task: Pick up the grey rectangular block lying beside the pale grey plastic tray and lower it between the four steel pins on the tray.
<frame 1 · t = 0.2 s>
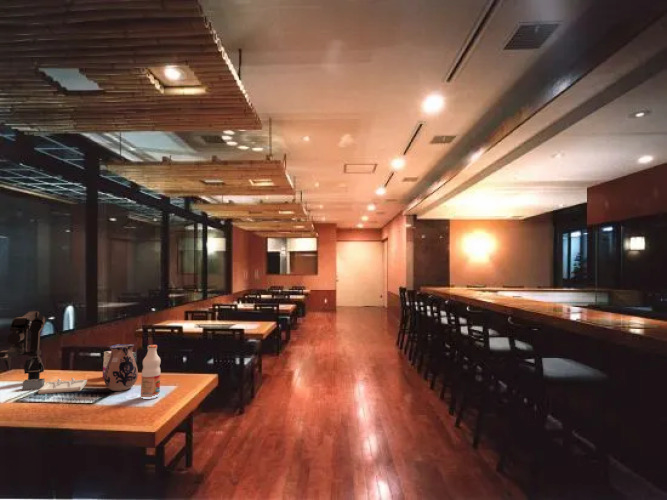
hand: (18, 369, 217), 14 cm above the table, fingers open, 9 cm apart
fruit juice: (150, 397, 218), on the table
tray: (63, 388, 231), on the table
grey rectangular block: (33, 388, 230), on the table
candy bar box: (111, 377, 256), on the table
ceramic pitcher: (119, 388, 233), on the table
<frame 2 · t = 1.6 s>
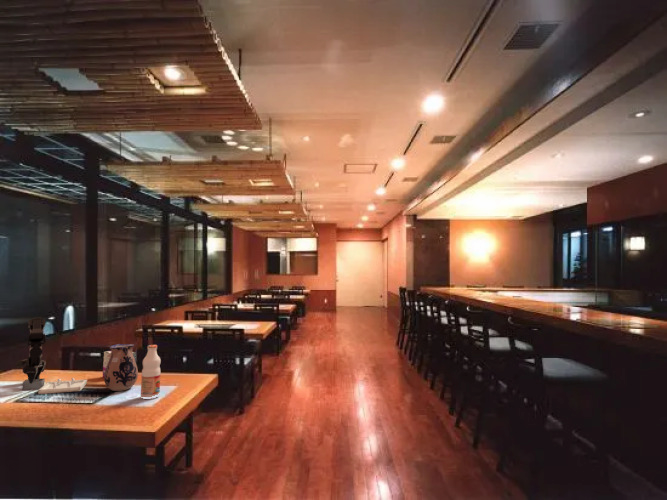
hand: (33, 381, 230), 4 cm above the table, fingers open, 9 cm apart
nothing on the table moved.
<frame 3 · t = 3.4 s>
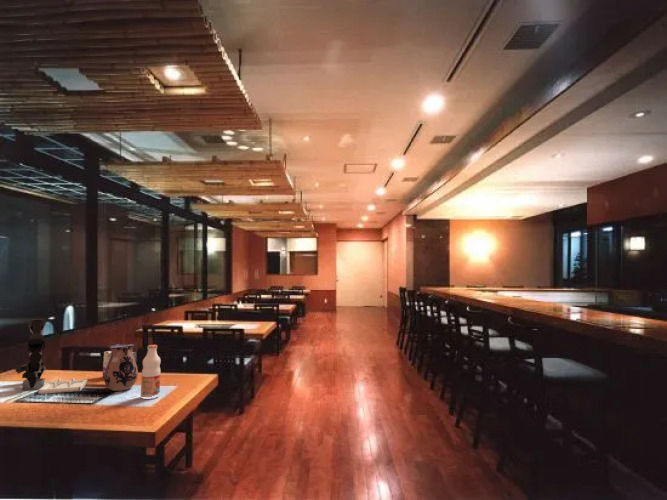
hand: (33, 386, 230), 1 cm above the table, fingers closed on grey rectangular block, 5 cm apart
grey rectangular block: (33, 388, 230), on the table, touching gripper
everything else where it was.
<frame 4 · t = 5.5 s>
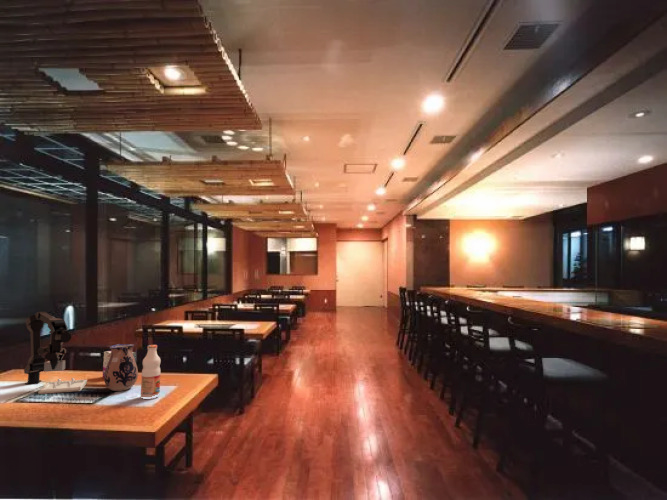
hand: (54, 368, 231), 11 cm above the table, fingers closed on grey rectangular block, 5 cm apart
grey rectangular block: (54, 370, 231), point 10 cm above the table, touching gripper
everything else where it was.
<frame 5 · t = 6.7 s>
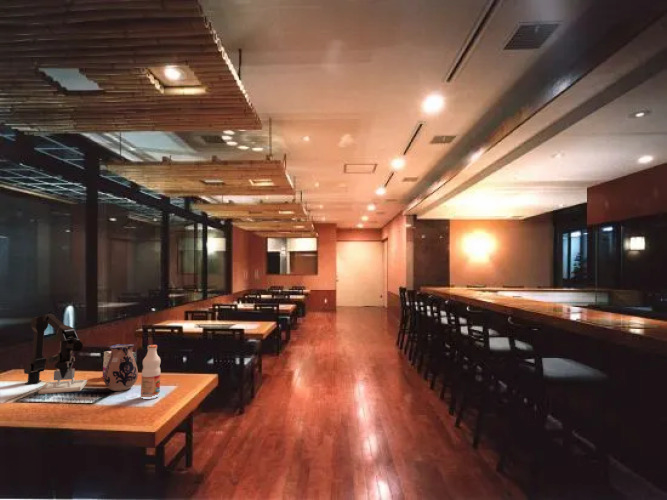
hand: (64, 376, 232), 7 cm above the table, fingers closed on grey rectangular block, 5 cm apart
grey rectangular block: (64, 378, 232), point 6 cm above the table, touching gripper
everything else where it was.
when the fingers open (3 cm above the table, at t = 7.8 s): grey rectangular block drops 1 cm, resting on tray.
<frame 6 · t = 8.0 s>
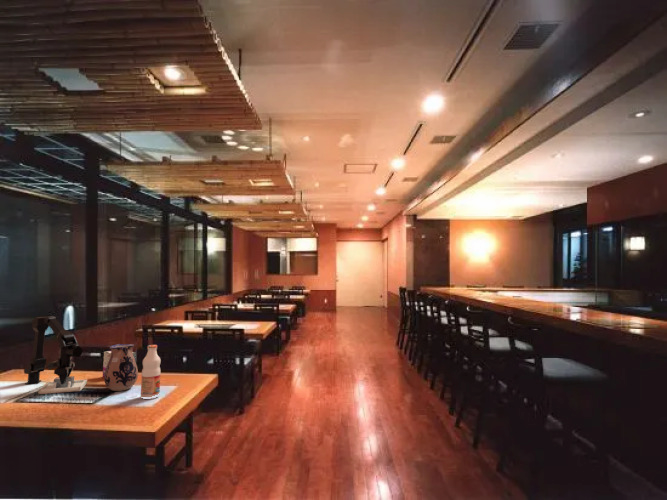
hand: (63, 382, 231), 3 cm above the table, fingers open, 7 cm apart
grey rectangular block: (63, 386, 231), point 1 cm above the table, touching tray
everything else where it was.
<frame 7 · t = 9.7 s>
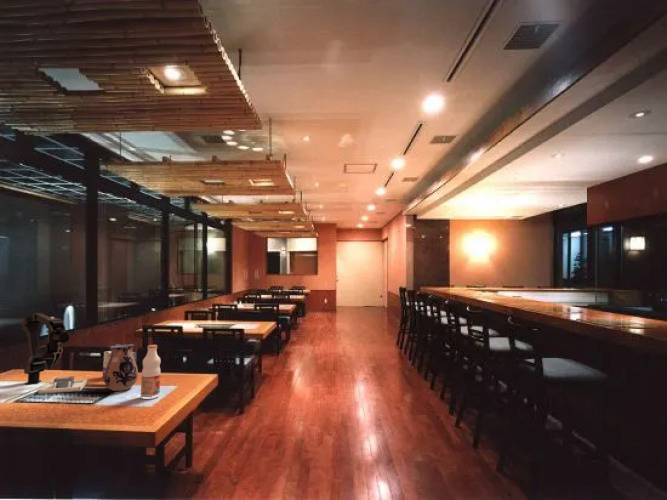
hand: (51, 367, 234), 11 cm above the table, fingers open, 9 cm apart
nothing on the table moved.
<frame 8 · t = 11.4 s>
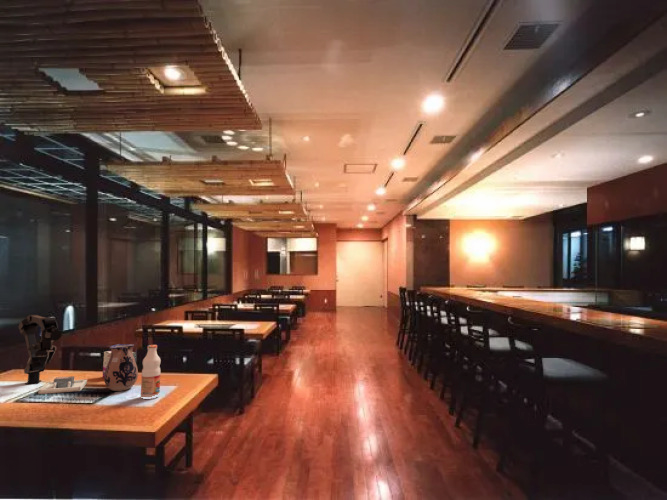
hand: (45, 365, 236), 12 cm above the table, fingers open, 9 cm apart
nothing on the table moved.
at the end: grey rectangular block 0.0 cm off-centre on the tray, point 1.0 cm above the tray's base; grey rectangular block tilted 0°; the gripper is holding nothing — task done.
